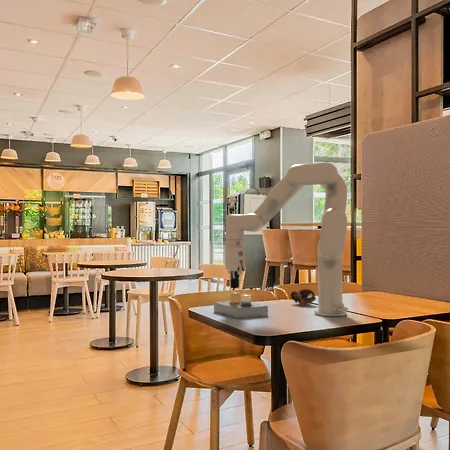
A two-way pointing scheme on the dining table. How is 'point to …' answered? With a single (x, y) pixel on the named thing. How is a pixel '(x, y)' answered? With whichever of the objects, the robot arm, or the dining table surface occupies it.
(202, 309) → the dining table surface
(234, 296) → the bushing
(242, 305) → the jig
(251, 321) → the dining table surface
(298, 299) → the brown animal figurine
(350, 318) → the dining table surface
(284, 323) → the dining table surface
